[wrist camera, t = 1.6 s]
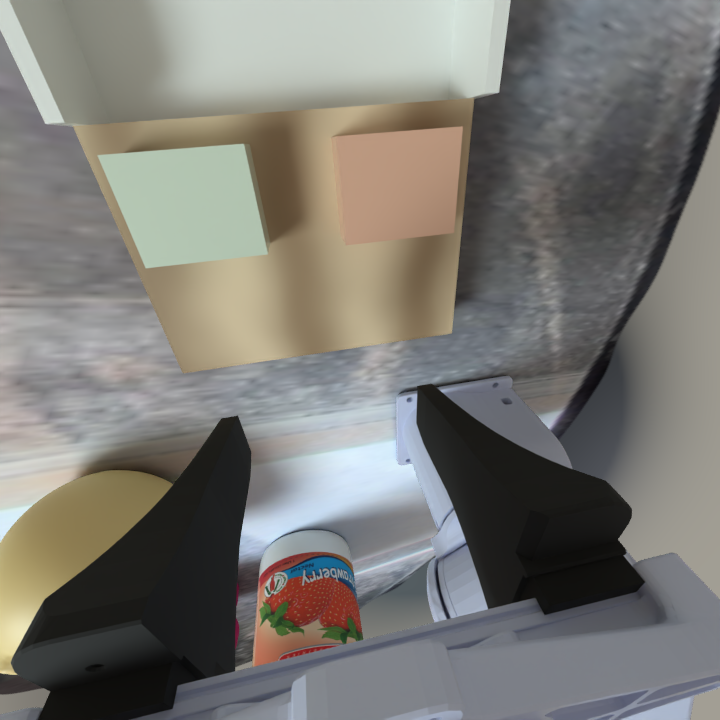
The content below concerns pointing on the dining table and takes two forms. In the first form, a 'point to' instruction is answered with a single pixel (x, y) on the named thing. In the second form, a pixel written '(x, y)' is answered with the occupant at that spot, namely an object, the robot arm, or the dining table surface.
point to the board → (295, 242)
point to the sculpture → (65, 542)
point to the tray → (249, 55)
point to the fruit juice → (305, 597)
